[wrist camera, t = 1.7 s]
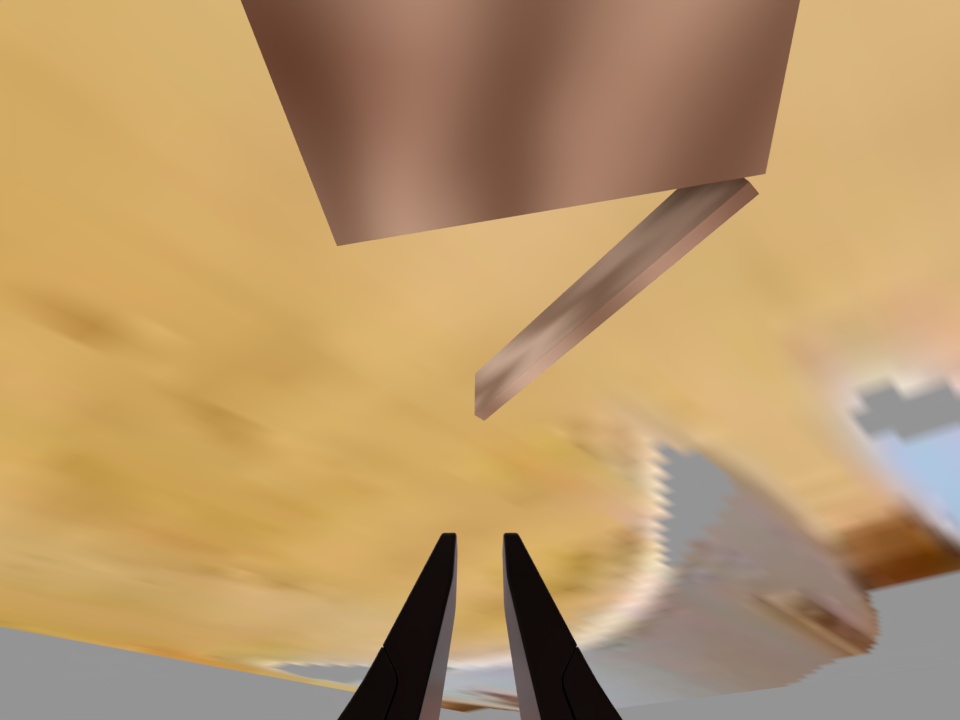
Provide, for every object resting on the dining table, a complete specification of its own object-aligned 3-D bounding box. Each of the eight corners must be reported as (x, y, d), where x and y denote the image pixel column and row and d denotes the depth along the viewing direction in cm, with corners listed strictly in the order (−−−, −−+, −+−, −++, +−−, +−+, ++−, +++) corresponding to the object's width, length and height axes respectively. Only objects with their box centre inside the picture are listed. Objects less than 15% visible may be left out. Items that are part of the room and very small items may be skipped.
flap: (486, 381, 25) (487, 422, 22) (474, 373, 24) (474, 415, 22) (725, 170, 18) (762, 198, 16) (713, 155, 18) (749, 181, 15)
